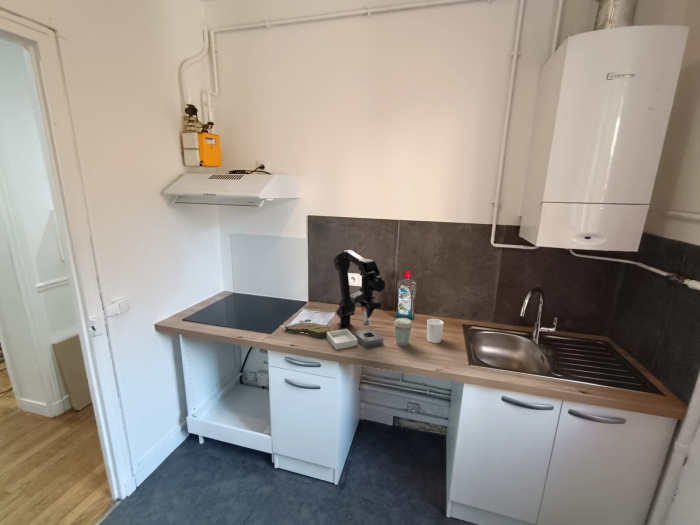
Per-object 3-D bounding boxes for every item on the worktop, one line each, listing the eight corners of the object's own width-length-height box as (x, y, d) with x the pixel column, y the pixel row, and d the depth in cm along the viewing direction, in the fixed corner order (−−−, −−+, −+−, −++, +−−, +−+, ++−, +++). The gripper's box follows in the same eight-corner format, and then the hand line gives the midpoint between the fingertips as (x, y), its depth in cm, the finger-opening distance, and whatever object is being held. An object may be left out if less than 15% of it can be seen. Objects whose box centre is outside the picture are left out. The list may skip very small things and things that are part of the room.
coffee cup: (390, 340, 154) (391, 318, 151) (405, 338, 157) (406, 316, 154) (398, 348, 146) (400, 325, 143) (414, 346, 149) (415, 322, 146)
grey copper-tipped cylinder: (360, 323, 153) (360, 305, 151) (368, 322, 155) (368, 304, 153) (364, 326, 149) (364, 308, 147) (372, 325, 151) (373, 307, 149)
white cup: (431, 344, 150) (432, 325, 148) (423, 337, 158) (424, 319, 156) (445, 342, 153) (446, 324, 150) (436, 335, 160) (438, 318, 158)
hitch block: (354, 337, 157) (354, 331, 157) (371, 333, 161) (372, 328, 161) (364, 347, 147) (365, 341, 146) (383, 343, 151) (383, 338, 150)
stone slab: (336, 328, 166) (335, 320, 164) (329, 342, 155) (328, 333, 153) (290, 325, 173) (289, 317, 171) (281, 337, 162) (279, 329, 160)
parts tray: (326, 337, 156) (326, 332, 156) (346, 334, 161) (346, 328, 160) (335, 349, 144) (335, 343, 144) (357, 345, 149) (357, 339, 148)
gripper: (344, 282, 153) (344, 312, 156) (360, 293, 136) (360, 326, 140) (364, 280, 157) (363, 309, 161) (382, 291, 141) (381, 322, 144)
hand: (366, 316), depth 151 cm, fingers closed on grey copper-tipped cylinder, 4 cm apart
